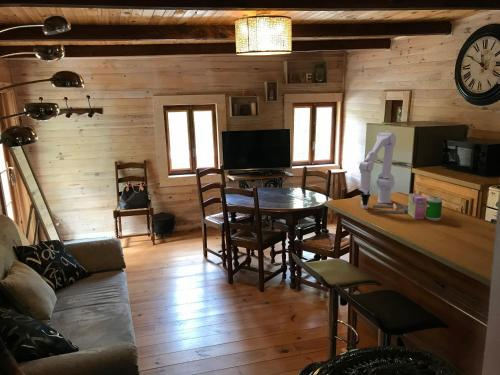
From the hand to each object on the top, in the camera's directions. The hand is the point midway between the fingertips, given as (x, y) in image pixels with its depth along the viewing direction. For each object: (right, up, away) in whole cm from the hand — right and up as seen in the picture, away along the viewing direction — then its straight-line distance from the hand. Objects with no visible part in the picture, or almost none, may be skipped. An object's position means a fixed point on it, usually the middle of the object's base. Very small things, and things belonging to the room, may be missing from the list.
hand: (364, 203), depth 248 cm
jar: (0, -3, +1) cm, 3 cm away
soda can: (+30, -8, -25) cm, 40 cm away
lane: (+13, -4, -5) cm, 15 cm away
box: (+23, -7, -19) cm, 31 cm away
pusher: (+16, -4, -6) cm, 18 cm away
